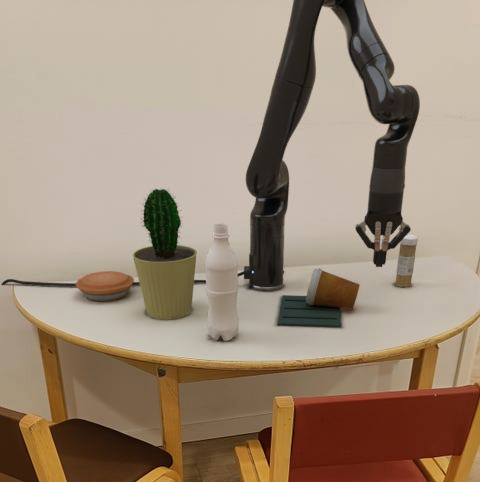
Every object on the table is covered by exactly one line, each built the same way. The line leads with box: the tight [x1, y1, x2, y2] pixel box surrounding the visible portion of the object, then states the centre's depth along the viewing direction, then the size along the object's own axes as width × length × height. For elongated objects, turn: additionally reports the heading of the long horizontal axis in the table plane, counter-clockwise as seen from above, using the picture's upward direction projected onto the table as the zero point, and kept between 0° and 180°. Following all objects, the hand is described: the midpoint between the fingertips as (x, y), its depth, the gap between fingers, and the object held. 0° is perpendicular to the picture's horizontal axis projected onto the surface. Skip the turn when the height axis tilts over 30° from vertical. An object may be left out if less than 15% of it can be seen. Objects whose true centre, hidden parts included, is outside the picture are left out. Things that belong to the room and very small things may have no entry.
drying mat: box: [277, 294, 342, 329], centre depth 151 cm, size 15×20×1 cm
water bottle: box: [204, 223, 240, 342], centre depth 131 cm, size 7×7×25 cm
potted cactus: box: [132, 188, 198, 320], centre depth 144 cm, size 15×15×30 cm
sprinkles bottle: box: [394, 234, 419, 288], centre depth 164 cm, size 5×5×13 cm
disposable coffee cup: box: [305, 267, 361, 310], centre depth 150 cm, size 10×10×12 cm
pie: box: [74, 270, 135, 302], centre depth 162 cm, size 15×16×5 cm
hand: (378, 266), depth 142 cm, fingers closed
